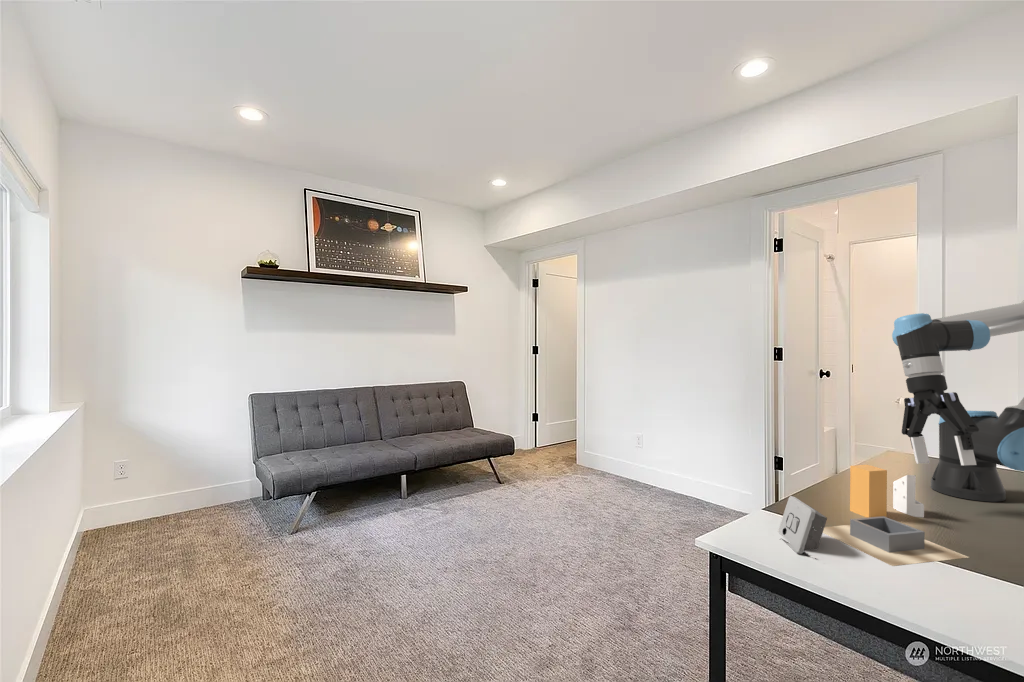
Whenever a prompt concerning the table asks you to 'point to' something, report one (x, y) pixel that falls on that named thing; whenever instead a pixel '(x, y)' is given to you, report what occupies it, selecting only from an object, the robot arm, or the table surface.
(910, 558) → the mounting board
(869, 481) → the connector plug
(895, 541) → the socket cup
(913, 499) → the white wedge bracket
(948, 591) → the table surface
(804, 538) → the electrical switch
